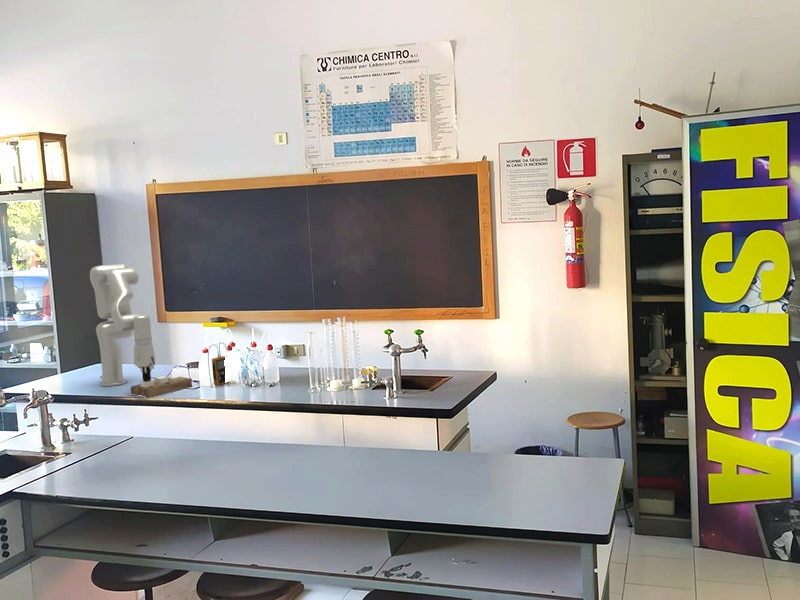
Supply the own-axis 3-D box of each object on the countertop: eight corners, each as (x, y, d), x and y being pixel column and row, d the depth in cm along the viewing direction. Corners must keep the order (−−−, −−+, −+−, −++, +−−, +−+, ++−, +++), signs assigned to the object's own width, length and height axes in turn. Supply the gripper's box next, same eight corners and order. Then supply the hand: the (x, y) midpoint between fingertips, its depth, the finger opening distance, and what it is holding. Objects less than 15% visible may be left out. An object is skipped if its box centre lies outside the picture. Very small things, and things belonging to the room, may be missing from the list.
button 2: (169, 386, 366) (168, 377, 365) (176, 384, 369) (175, 375, 369) (175, 387, 363) (174, 378, 363) (182, 385, 367) (181, 376, 366)
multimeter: (221, 389, 357) (217, 347, 355) (207, 386, 363) (204, 345, 361) (245, 382, 369) (241, 342, 367) (231, 380, 375) (228, 340, 373)
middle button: (155, 387, 359) (154, 378, 358) (162, 385, 362) (161, 376, 362) (161, 388, 356) (160, 378, 356) (168, 386, 360) (167, 376, 359)
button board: (131, 394, 354) (130, 385, 353) (173, 384, 373) (172, 375, 373) (150, 397, 346) (149, 388, 345) (192, 386, 365) (191, 377, 365)
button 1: (140, 391, 352) (139, 381, 352) (148, 389, 356) (147, 379, 355) (146, 392, 350) (145, 382, 349) (154, 390, 353) (153, 380, 353)
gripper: (126, 342, 351) (130, 381, 353) (146, 344, 343) (150, 383, 345) (140, 339, 358) (143, 378, 360) (160, 341, 349) (164, 380, 351)
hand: (147, 380), depth 352 cm, fingers closed
